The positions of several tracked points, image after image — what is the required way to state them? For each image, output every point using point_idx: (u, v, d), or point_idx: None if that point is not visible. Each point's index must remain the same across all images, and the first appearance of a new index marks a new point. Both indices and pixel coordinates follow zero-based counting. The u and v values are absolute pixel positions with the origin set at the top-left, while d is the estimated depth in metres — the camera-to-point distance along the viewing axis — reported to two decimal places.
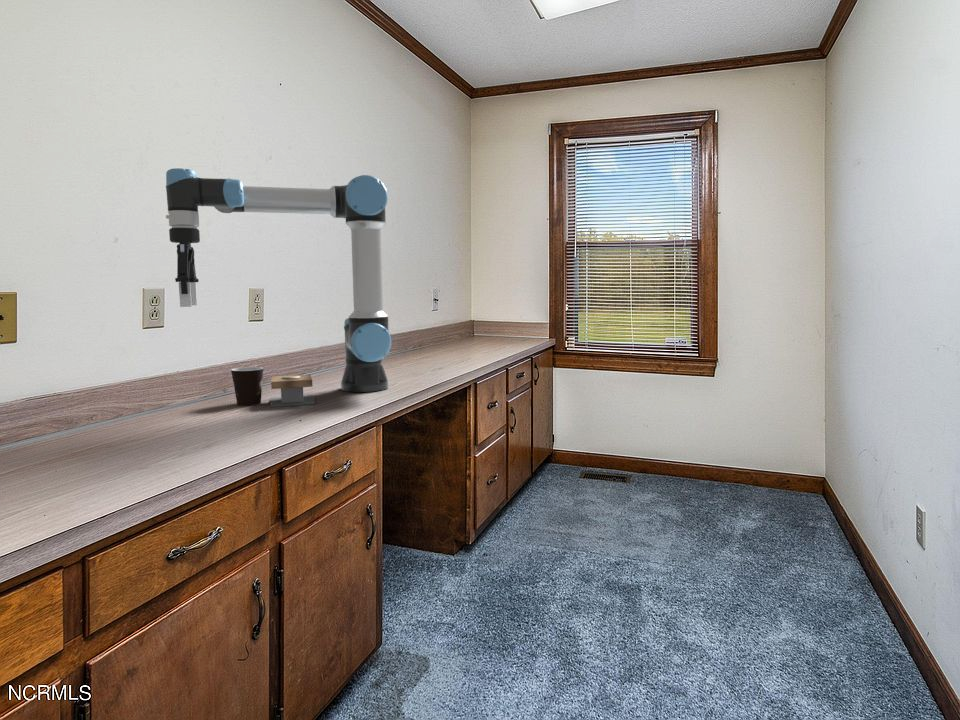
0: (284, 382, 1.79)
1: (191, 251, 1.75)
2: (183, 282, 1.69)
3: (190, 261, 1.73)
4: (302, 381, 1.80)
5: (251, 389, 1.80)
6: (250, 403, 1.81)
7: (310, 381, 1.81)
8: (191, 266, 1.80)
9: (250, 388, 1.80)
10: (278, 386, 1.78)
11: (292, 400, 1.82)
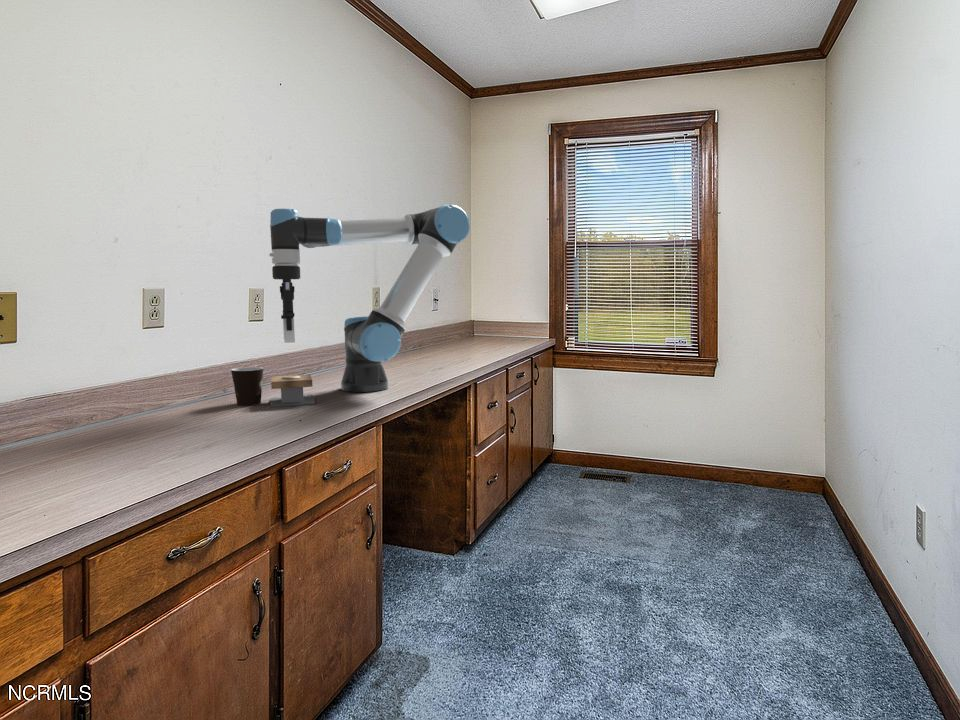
0: (284, 382, 1.79)
1: (293, 288, 1.80)
2: (288, 319, 1.75)
3: (293, 298, 1.79)
4: (302, 381, 1.80)
5: (251, 389, 1.80)
6: (250, 403, 1.81)
7: (310, 381, 1.81)
8: None
9: (250, 388, 1.80)
10: (278, 386, 1.78)
11: (292, 400, 1.82)
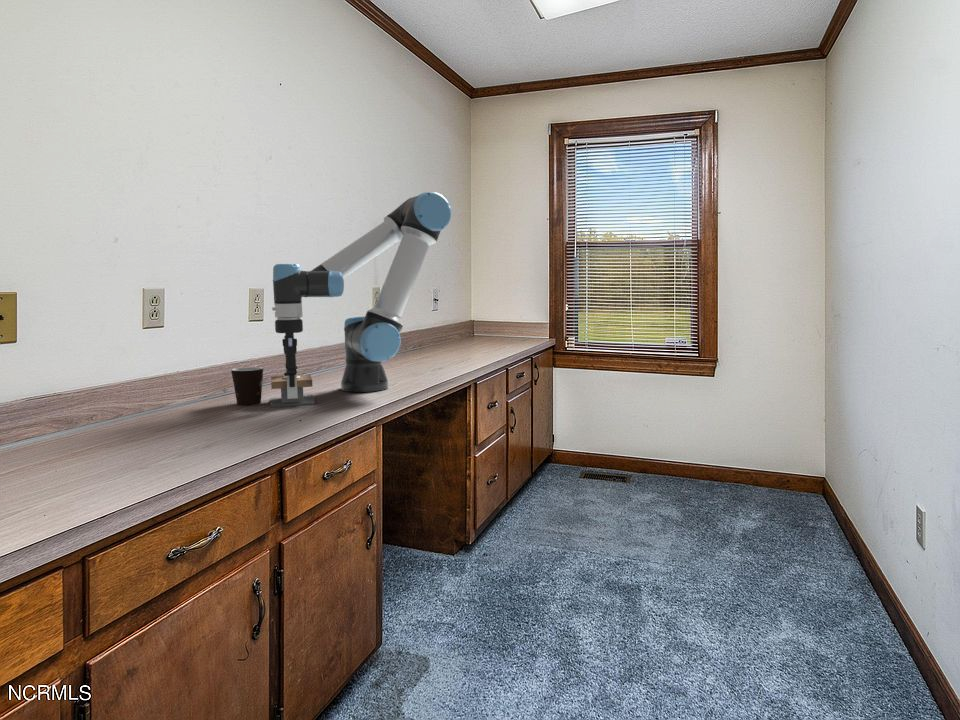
0: (284, 382, 1.79)
1: (296, 342, 1.82)
2: (291, 376, 1.77)
3: (295, 352, 1.81)
4: (302, 381, 1.80)
5: (251, 389, 1.80)
6: (250, 403, 1.81)
7: (310, 381, 1.81)
8: None
9: (250, 388, 1.80)
10: (278, 386, 1.78)
11: (292, 400, 1.82)
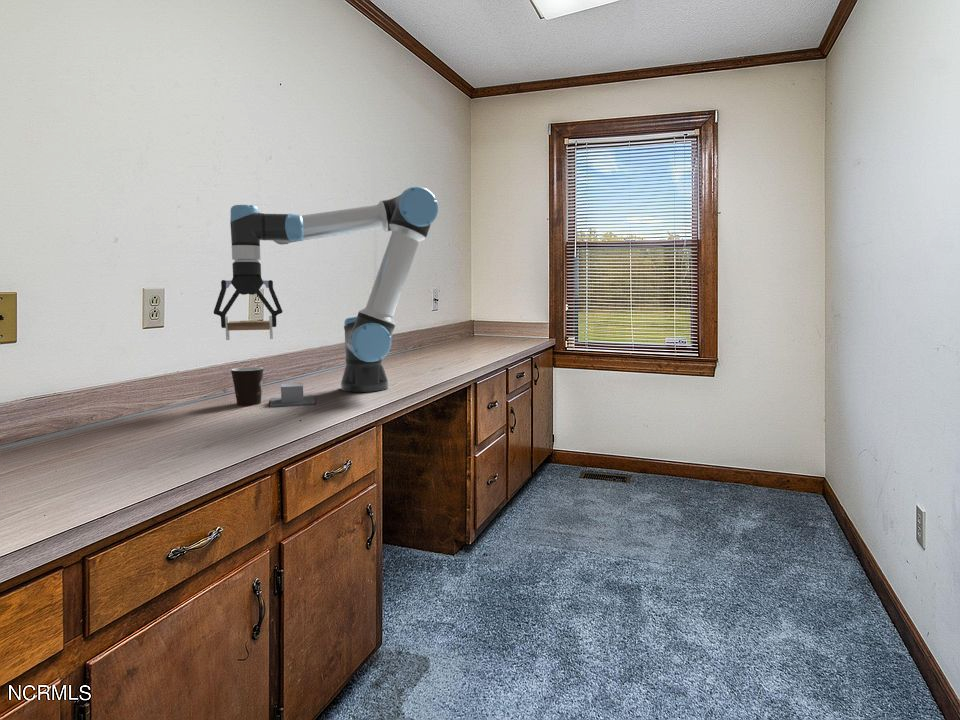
0: None
1: (239, 284, 1.80)
2: None
3: (235, 295, 1.80)
4: None
5: (251, 389, 1.80)
6: (250, 403, 1.81)
7: (227, 324, 1.77)
8: None
9: (250, 388, 1.80)
10: None
11: (292, 400, 1.82)
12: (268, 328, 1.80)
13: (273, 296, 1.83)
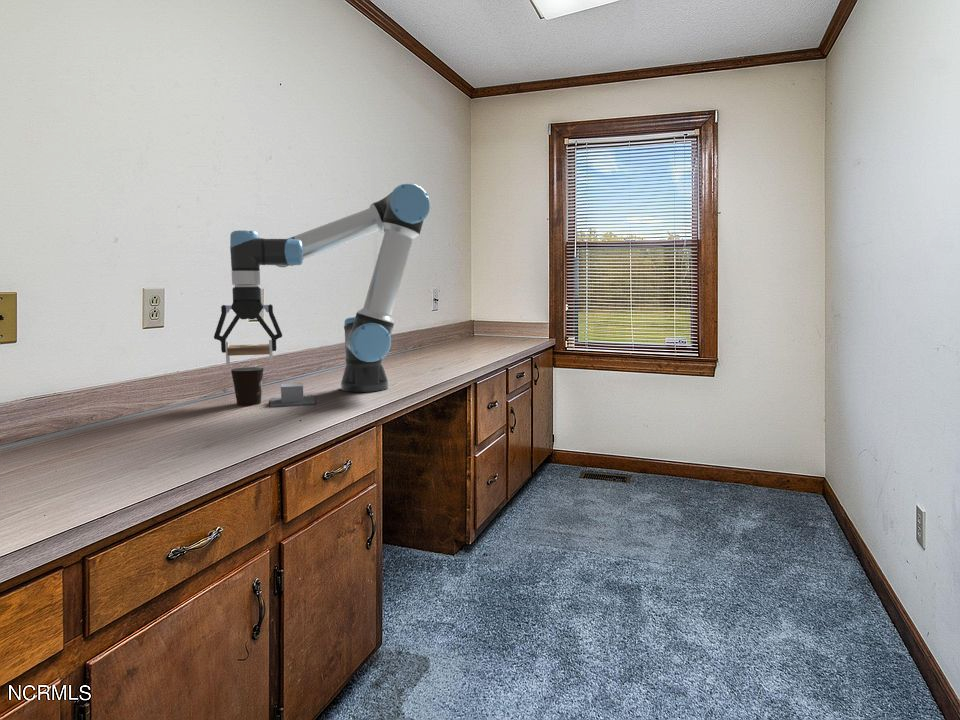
0: (229, 347, 1.84)
1: (239, 309, 1.81)
2: None
3: (235, 320, 1.81)
4: None
5: (251, 389, 1.80)
6: (250, 403, 1.81)
7: (227, 350, 1.78)
8: (260, 323, 1.83)
9: (250, 388, 1.80)
10: None
11: (292, 400, 1.82)
12: (268, 353, 1.80)
13: (273, 320, 1.84)
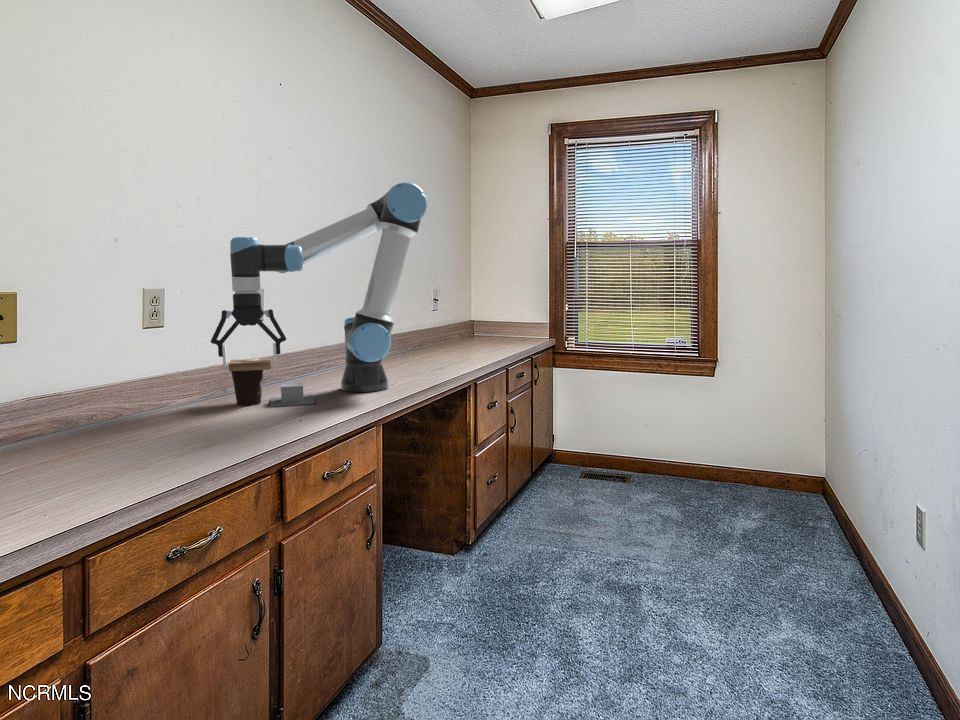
0: (230, 362, 1.85)
1: (240, 315, 1.81)
2: (217, 345, 1.81)
3: (234, 325, 1.81)
4: None
5: (251, 389, 1.80)
6: (250, 403, 1.81)
7: None
8: (262, 328, 1.84)
9: (250, 388, 1.80)
10: None
11: (292, 400, 1.82)
12: (269, 368, 1.81)
13: (275, 325, 1.84)
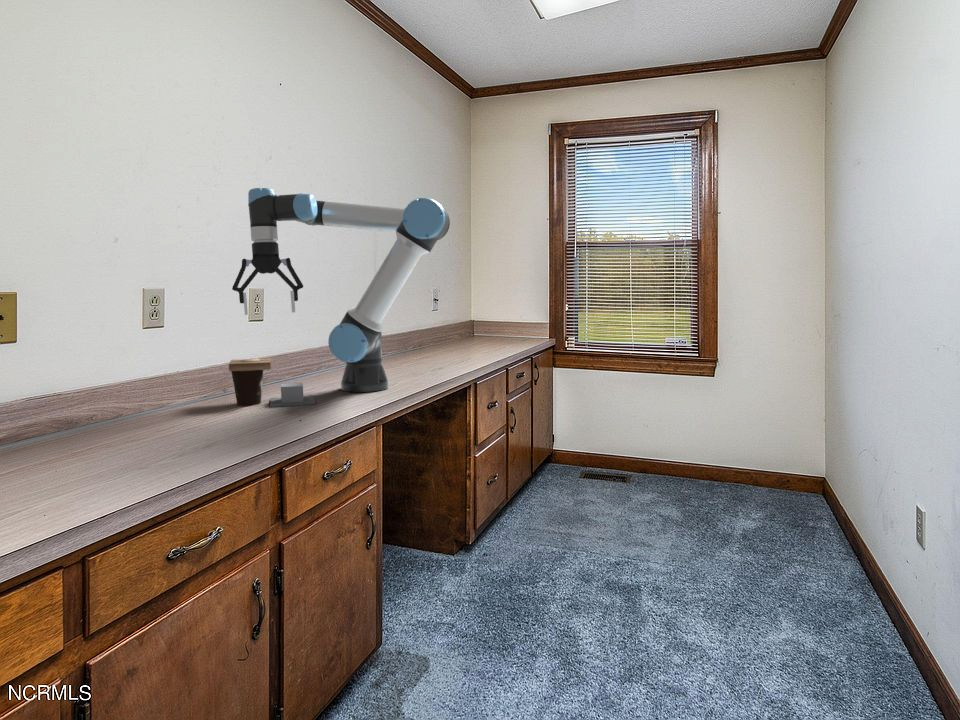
0: (230, 362, 1.85)
1: (259, 263, 1.90)
2: None
3: (254, 273, 1.90)
4: None
5: (251, 389, 1.80)
6: (250, 403, 1.81)
7: None
8: (280, 276, 1.93)
9: (250, 388, 1.80)
10: None
11: (292, 400, 1.82)
12: (269, 368, 1.81)
13: (292, 272, 1.94)
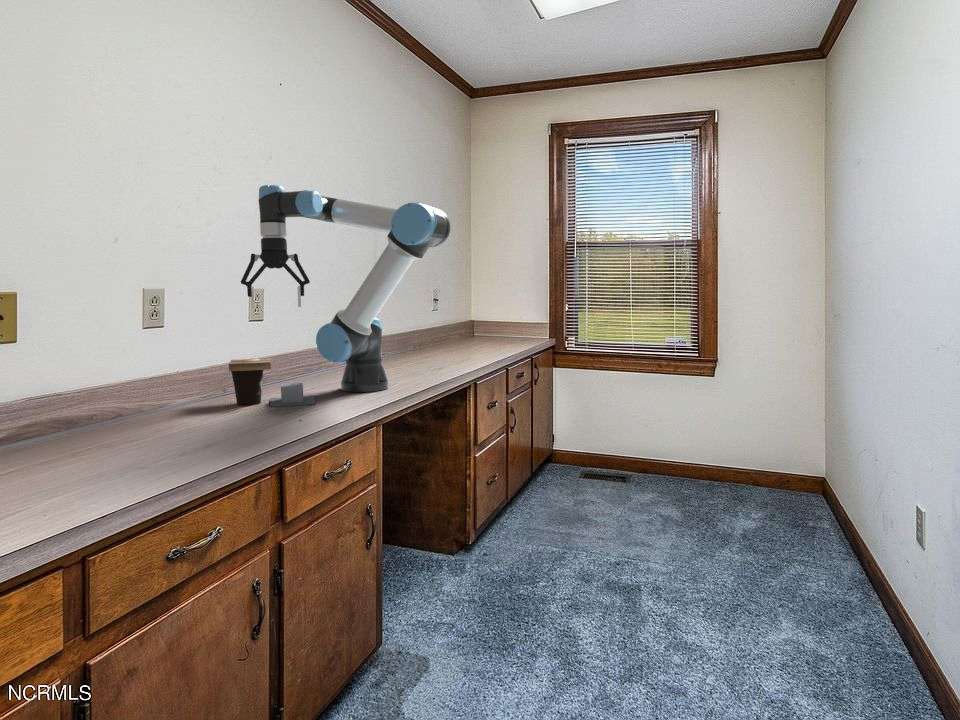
0: (230, 362, 1.85)
1: (267, 258, 1.95)
2: (247, 286, 1.96)
3: (262, 268, 1.95)
4: (229, 364, 1.80)
5: (251, 389, 1.80)
6: (250, 403, 1.81)
7: None
8: (288, 271, 1.98)
9: (250, 388, 1.80)
10: None
11: (292, 400, 1.82)
12: (269, 368, 1.81)
13: (299, 268, 1.99)
